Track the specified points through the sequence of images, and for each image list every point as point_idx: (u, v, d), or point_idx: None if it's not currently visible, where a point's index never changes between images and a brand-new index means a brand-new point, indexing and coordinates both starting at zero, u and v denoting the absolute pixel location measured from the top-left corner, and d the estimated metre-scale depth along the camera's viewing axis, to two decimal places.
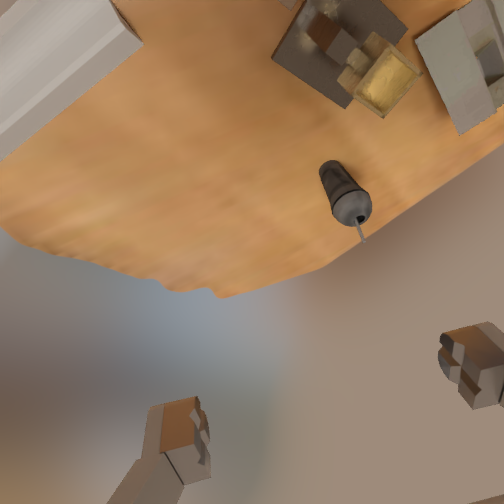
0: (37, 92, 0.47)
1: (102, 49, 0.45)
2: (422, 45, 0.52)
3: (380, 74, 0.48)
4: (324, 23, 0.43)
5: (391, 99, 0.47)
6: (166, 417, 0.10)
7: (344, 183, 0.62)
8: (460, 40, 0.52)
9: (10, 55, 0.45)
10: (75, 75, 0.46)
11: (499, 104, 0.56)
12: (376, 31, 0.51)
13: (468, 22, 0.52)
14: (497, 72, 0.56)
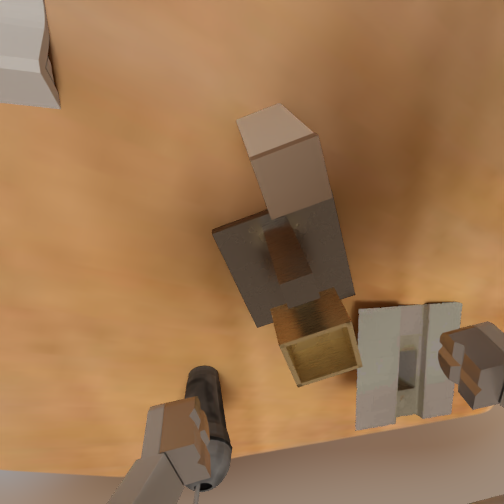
0: None
1: None
2: (363, 318, 0.45)
3: None
4: (292, 247, 0.33)
5: (316, 370, 0.36)
6: (166, 417, 0.10)
7: (211, 417, 0.44)
8: (394, 335, 0.47)
9: None
10: None
11: (398, 414, 0.50)
12: (328, 278, 0.44)
13: (404, 321, 0.49)
14: (405, 379, 0.52)
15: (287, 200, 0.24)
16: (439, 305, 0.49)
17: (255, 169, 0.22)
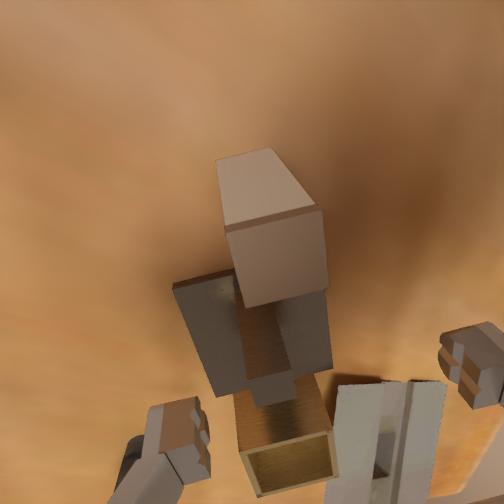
0: None
1: None
2: (342, 396, 0.39)
3: None
4: (268, 324, 0.26)
5: (282, 476, 0.29)
6: (166, 417, 0.10)
7: None
8: (374, 416, 0.41)
9: None
10: None
11: None
12: (305, 349, 0.37)
13: (385, 399, 0.43)
14: (379, 463, 0.46)
15: (270, 287, 0.18)
16: (424, 383, 0.44)
17: (230, 244, 0.16)
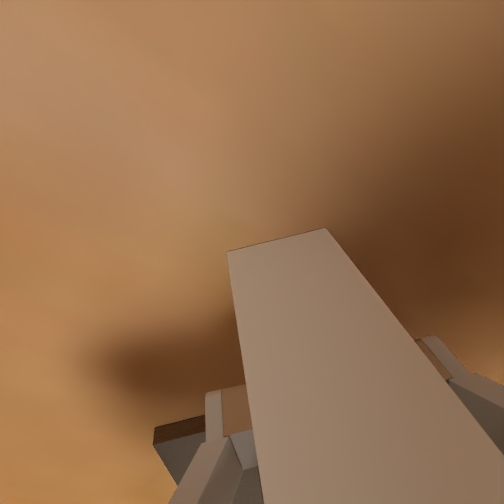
0: None
1: None
2: None
3: None
4: None
5: None
6: (225, 402, 0.10)
7: None
8: None
9: None
10: None
11: None
12: None
13: None
14: None
15: None
16: None
17: None
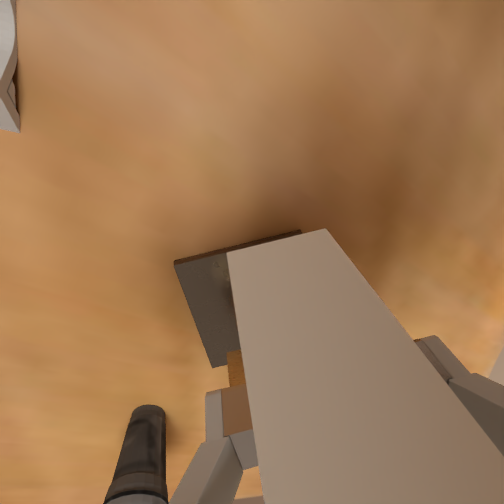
0: None
1: None
2: None
3: None
4: None
5: None
6: (225, 402, 0.10)
7: (149, 466, 0.39)
8: None
9: None
10: None
11: None
12: None
13: None
14: None
15: None
16: None
17: None
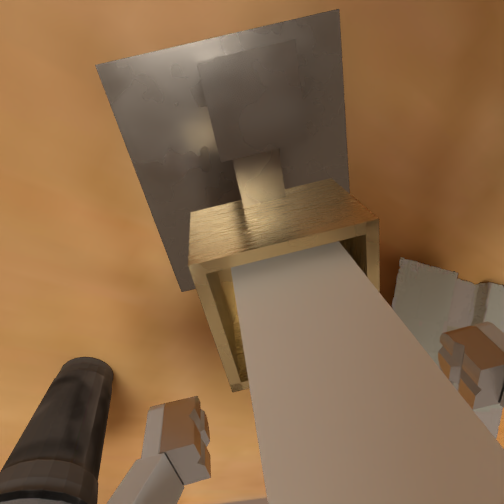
0: None
1: None
2: (404, 276, 0.26)
3: None
4: None
5: None
6: (166, 417, 0.10)
7: (65, 449, 0.22)
8: (440, 318, 0.29)
9: None
10: None
11: None
12: None
13: None
14: None
15: None
16: (501, 287, 0.32)
17: None
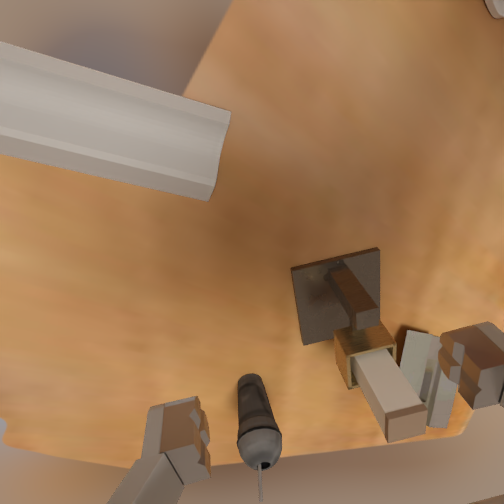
0: (82, 145, 0.38)
1: (180, 178, 0.41)
2: (408, 338, 0.60)
3: None
4: (358, 288, 0.47)
5: None
6: (166, 417, 0.10)
7: (266, 413, 0.55)
8: (424, 355, 0.62)
9: (92, 101, 0.38)
10: (133, 169, 0.40)
11: None
12: None
13: (429, 347, 0.64)
14: (418, 395, 0.67)
15: (400, 435, 0.40)
16: None
17: (389, 423, 0.38)
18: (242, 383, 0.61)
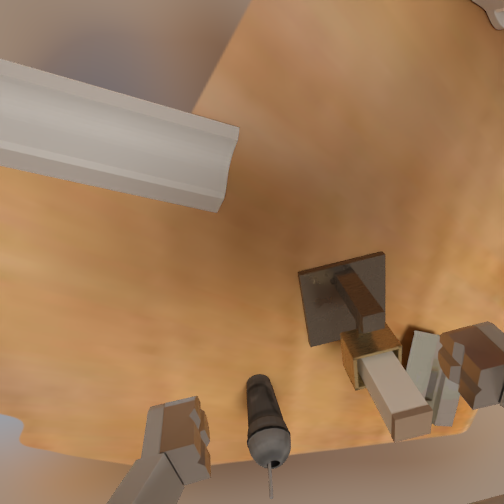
0: (97, 161, 0.39)
1: (190, 192, 0.43)
2: (415, 338, 0.61)
3: None
4: (364, 292, 0.49)
5: None
6: (166, 417, 0.10)
7: (275, 412, 0.57)
8: (430, 355, 0.63)
9: (107, 119, 0.40)
10: (146, 184, 0.42)
11: None
12: None
13: (435, 348, 0.66)
14: None
15: (406, 434, 0.41)
16: None
17: (395, 423, 0.40)
18: (251, 384, 0.63)
